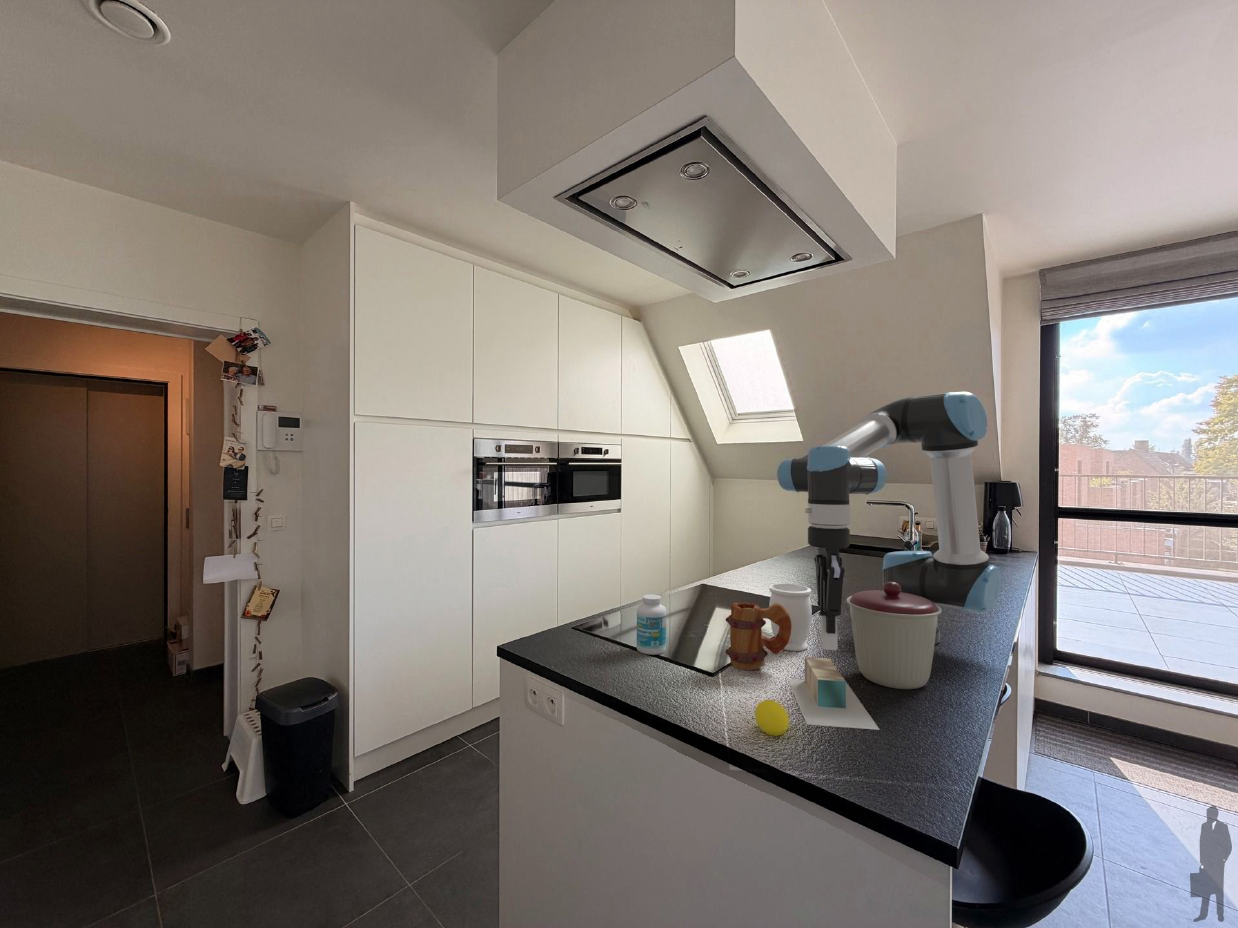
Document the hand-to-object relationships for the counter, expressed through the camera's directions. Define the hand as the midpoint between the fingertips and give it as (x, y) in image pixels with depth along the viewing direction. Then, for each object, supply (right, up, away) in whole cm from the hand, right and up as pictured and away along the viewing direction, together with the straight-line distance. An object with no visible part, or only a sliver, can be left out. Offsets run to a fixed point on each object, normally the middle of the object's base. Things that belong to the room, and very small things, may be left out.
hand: (829, 648), depth 99 cm
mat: (0, -11, 0) cm, 11 cm away
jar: (+4, -12, +33) cm, 35 cm away
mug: (-9, -11, +18) cm, 23 cm away
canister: (+19, -11, +12) cm, 25 cm away
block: (0, -8, -2) cm, 8 cm away
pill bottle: (-32, -11, +30) cm, 45 cm away
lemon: (-14, -11, -11) cm, 21 cm away
